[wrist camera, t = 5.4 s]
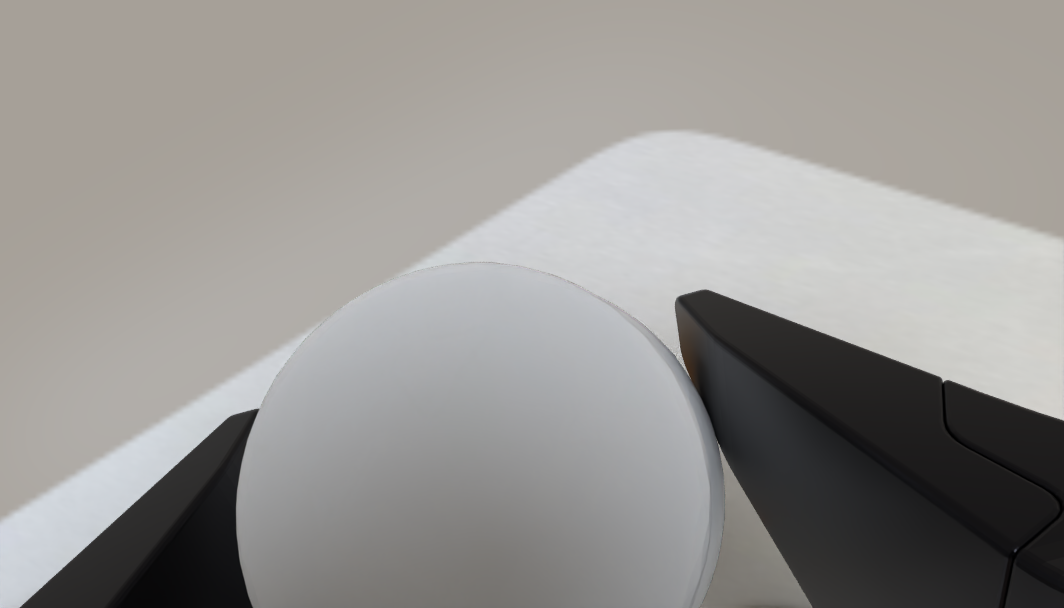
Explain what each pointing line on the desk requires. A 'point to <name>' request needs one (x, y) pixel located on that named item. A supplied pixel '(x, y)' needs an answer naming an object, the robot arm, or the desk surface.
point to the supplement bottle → (480, 455)
